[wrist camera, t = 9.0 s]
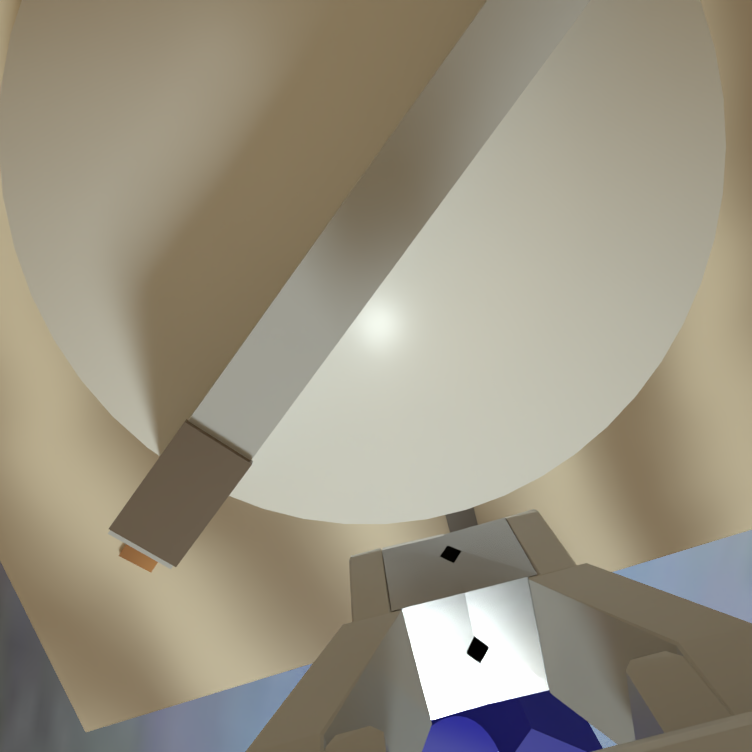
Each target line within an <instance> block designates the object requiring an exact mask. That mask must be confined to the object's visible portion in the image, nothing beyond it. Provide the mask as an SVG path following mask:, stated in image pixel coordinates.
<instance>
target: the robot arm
mask: <svg viewBox="0 0 752 752" xmlns="http://www.w3.org/2000/svg"><path fill="white" fill-rule="evenodd" d="M349 571H350V592H351V613H352V622H351V623H347V624H343V625H342V626H341V628H340V629H339V630H338V632H337V633H336V634H335V635H334V637H333V638H332V639H331V641H330V642H329V643H328V645H327V646H326V647H325V649H324V650H323V651H322V652H321V654H320V655H319V656H318V658H317V659H316V660H315V662H314V663H313V664H312V666H311V667H310V668H309V669H308V671H307V672H306V673H305V675H304V676H303V677H302V679H301V680H300V681H299V683H298V684H297V685H296V686H295V688H294V689H293V690H292V692H291V693H290V694H289V696H288V697H287V698H286V700H285V701H284V702H283V703H282V705H281V706H280V707H279V709H278V710H277V711H276V713H275V714H274V715H273V717H272V718H271V719H270V720H269V722H268V723H267V724H266V726H265V727H264V728H263V730H262V731H261V732H260V734H259V735H258V736H257V737H256V739H255V740H254V741H253V743H252V744H251V745H250V747H249V748H248V749H247V751H246V752H422V750H423V747H424V744H425V742H426V739H427V736H428V733H429V731H430V728H431V725H432V722H431V720H433V719H437V718H440V717H444V716H447V715H451V714H454V713H458V712H461V711H465V710H468V709H472V708H475V707H479V706H482V705H486V704H489V702H490V703H494V702H498V701H503V700H507V699H512V698H516V697H521V696H525V695H530V694H534V693H539V692H543V691H548V690H550V693H551V694H552V695H553V696H555V697H556V698H557V699H559V700H560V701H561V702H563V703H564V704H565V705H567V706H568V707H569V708H570V709H572V710H573V711H574V712H576V713H577V714H578V715H580V716H581V717H582V718H584V719H585V720H586V721H588V722H589V723H590V724H592V725H593V726H594V727H595V728H597V729H598V730H599V731H601V732H602V733H603V734H605V735H606V736H607V737H609V738H610V739H611V740H613V741H614V742H615V743H616V744H618V745H615V746H612V747H608V748H604V749H600V750H596V751H592V752H752V623H749V622H746V621H743V620H741V619H738V618H735V617H733V616H730V615H727V614H724V613H722V612H719V611H716V610H713V609H711V608H708V607H705V606H703V605H700V604H697V603H694V602H692V601H689V600H686V599H683V598H681V597H678V596H675V595H672V594H670V593H667V592H664V591H662V590H659V589H656V588H653V587H651V586H648V585H645V584H642V583H640V582H637V581H634V580H631V579H629V578H626V577H623V576H621V575H618V574H615V573H612V572H610V571H607V570H604V569H601V568H599V567H596V566H593V565H590V564H588V563H585V564H581V565H577V564H576V563H575V562H574V560H573V559H572V557H571V556H570V555H569V553H568V552H567V550H566V549H565V548H564V546H563V545H562V544H561V542H560V541H559V539H558V538H557V537H556V535H555V534H554V532H553V531H552V530H551V528H550V527H549V525H548V524H547V523H546V521H545V520H544V518H543V517H542V516H541V514H540V513H539V511H537V510H535V509H532V510H528V511H525V512H522V513H518V514H515V515H511V516H508V517H505V518H501V519H497V520H494V521H490V522H487V523H483V524H480V525H476V526H472V527H469V528H465V529H462V530H458V531H454V532H451V533H447V534H440V535H436V536H431V537H427V538H423V539H418V540H414V541H410V542H405V543H401V544H397V545H392V546H388V547H384V548H382V550H381V549H380V548H378V549H374V550H370V551H367V552H363V553H359V554H355V555H352V556H351V557H350V559H349Z"/></svg>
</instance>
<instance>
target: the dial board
mask: <svg viewBox="0 0 752 752" xmlns="http://www.w3.org/2000/svg"><path fill="white" fill-rule="evenodd" d="M21 1H22V0H0V92H1V84H2V79H3V73H4V67H5V62H6V56H7V51H8V45H9V40H10V34H11V31H12V28H13V25H14V22H15V19H16V16H17V13H18V10H19V7H20V4H21ZM700 1H701V4H702V7H703V11H704V14H705V17H706V21H707V24H708V27H709V31H710V34H711V37H712V41H713V44H714V47H715V52H716V57H717V63H718V69H719V75H720V81H721V86H722V92H723V98H724V118H725V137H726V153H725V169H724V184H723V196H722V201H721V206H720V212H719V217H718V223H717V228H716V234H715V239H714V242H713V246H712V249H711V252H710V256H709V259H708V262H707V265H706V269H705V272H704V275H703V279H702V282H701V284H700V287H699V289H698V291H697V294H696V296H695V298H694V301H693V303H692V305H691V307H690V310H689V312H688V314H687V317H686V319H685V321H684V324H683V325H682V327H681V329H680V331H679V332H678V334H677V336H676V337H675V339H674V341H673V343H672V344H671V346H670V348H669V350H668V351H667V353H666V355H665V357H664V358H663V360H662V362H661V363H660V364H659V366H658V367H657V368H656V370H655V371H654V373H653V374H652V375H651V377H650V378H649V379H648V381H647V382H646V383H645V385H644V386H643V387H642V389H641V390H640V391H639V393H638V394H637V395H636V397H635V398H634V399H633V400H632V401H631V402H630V403H629V404H628V405H627V406H626V407H625V408H624V410H623V411H622V412H621V413H620V414H619V415H618V416H617V417H616V418H615V419H614V420H613V421H612V422H611V423H610V424H609V426H608V427H607V428H605V429H604V430H603V431H602V432H601V433H600V434H598V435H597V436H596V437H595V438H594V439H592V440H591V441H590V442H589V443H588V444H587V445H585V446H584V447H583V448H582V449H581V450H580V451H578V452H577V453H576V454H575V455H573V456H572V457H570V458H569V459H567V460H566V461H564V462H563V463H561V464H560V465H558V466H557V467H555V468H554V469H552V470H551V471H549V472H548V473H546V474H545V475H543V476H542V477H540V478H538V479H536V480H534V481H532V482H530V483H528V484H526V485H524V486H522V487H520V488H518V489H516V490H515V491H513V492H511V493H509V494H507V495H505V496H502V497H499V498H497V499H494V500H491V501H489V502H486V503H483V504H480V505H478V506H475V507H472V508H470V509H467V510H463V511H459V512H455V513H451V514H447V515H442V516H438V517H434V518H430V519H425V520H416V521H408V522H399V523H391V524H341V523H333V522H325V521H317V520H309V519H302V518H298V517H294V516H290V515H286V514H282V513H278V512H274V511H270V510H266V509H262V508H260V507H257V506H254V505H252V504H249V503H246V502H244V501H241V500H239V499H236V498H233V497H231V496H228V498H227V499H226V500H225V502H224V503H223V504H222V506H221V507H220V509H219V510H218V511H217V513H216V514H215V515H214V517H213V518H212V519H211V521H210V522H209V523H208V525H207V526H206V527H205V529H204V530H203V532H202V533H201V534H200V536H199V537H198V538H197V540H196V541H195V542H194V544H193V545H192V546H191V548H190V549H189V550H188V552H187V553H186V555H185V556H184V557H183V559H182V560H181V561H180V563H179V564H178V565H177V567H174V566H173V567H172V568H171V569H169V568H168V567H166V566H164V565H162V564H161V563H159V562H157V561H155V560H153V559H152V558H150V557H148V556H146V555H145V554H143V553H141V552H139V551H137V550H136V549H134V548H132V547H130V546H129V545H127V544H125V543H123V542H122V541H120V540H118V539H116V538H114V537H113V536H111V535H109V534H108V533H109V531H110V530H109V527H110V526H111V524H112V523H113V522H114V520H115V519H116V517H117V516H118V515H119V513H120V512H121V510H122V509H123V508H124V506H125V505H126V503H127V502H128V501H129V499H130V498H131V496H132V495H133V494H134V492H135V491H136V489H137V488H138V486H139V485H140V484H141V482H142V481H143V479H144V478H145V477H146V475H147V474H148V472H149V471H150V470H151V468H152V467H153V465H154V464H155V463H156V461H157V460H158V458H159V457H160V456H159V455H157V454H156V453H155V452H153V451H152V450H150V449H149V448H147V447H146V446H145V445H144V444H143V443H142V442H141V441H139V440H138V439H137V438H136V437H135V436H134V435H133V434H132V433H130V432H129V431H128V430H127V429H126V428H125V427H124V426H123V425H122V424H120V423H119V422H118V421H117V420H116V419H115V418H114V417H113V416H112V415H111V414H110V413H109V412H108V411H107V410H106V408H105V407H104V406H103V405H102V404H101V403H100V401H99V400H98V399H97V398H96V397H95V396H94V395H93V393H92V392H91V391H90V390H89V389H88V388H87V387H86V385H85V384H84V383H83V382H82V381H81V379H80V378H79V376H78V375H77V374H76V372H75V371H74V369H73V368H72V366H71V365H70V363H69V362H68V360H67V359H66V357H65V356H64V354H63V353H62V351H61V350H60V348H59V347H58V345H57V344H56V342H55V341H54V339H53V337H52V335H51V333H50V331H49V329H48V327H47V325H46V323H45V321H44V319H43V317H42V316H41V314H40V312H39V310H38V308H37V306H36V304H35V302H34V300H33V298H32V296H31V293H30V290H29V287H28V285H27V282H26V279H25V276H24V273H23V271H22V268H21V265H20V262H19V260H18V257H17V254H16V251H15V248H14V244H13V240H12V235H11V231H10V226H9V222H8V217H7V213H6V208H5V204H4V199H3V191H2V180H1V169H0V561H1V563H2V565H3V567H4V569H5V571H6V573H7V575H8V577H9V579H10V581H11V583H12V585H13V587H14V589H15V591H16V593H17V595H18V597H19V599H20V601H21V603H22V605H23V607H24V609H25V611H26V613H27V615H28V617H29V619H30V621H31V623H32V625H33V627H34V629H35V631H36V633H37V635H38V637H39V639H40V641H41V643H42V645H43V648H44V650H45V652H46V654H47V656H48V658H49V660H50V662H51V664H52V666H53V668H54V670H55V672H56V674H57V676H58V678H59V680H60V682H61V684H62V686H63V688H64V690H65V692H66V694H67V696H68V698H69V700H70V702H71V704H72V706H73V708H74V710H75V712H76V714H77V716H78V718H79V720H80V722H81V724H82V726H83V728H84V730H85V732H88V731H92V730H95V729H98V728H102V727H105V726H108V725H111V724H115V723H118V722H121V721H125V720H128V719H131V718H134V717H138V716H141V715H144V714H148V713H151V712H154V711H157V710H161V709H164V708H167V707H170V706H174V705H177V704H180V703H184V702H187V701H190V700H193V699H197V698H200V697H203V696H207V695H210V694H213V693H216V692H220V691H223V690H226V689H230V688H233V687H236V686H239V685H243V684H246V683H249V682H253V681H256V680H259V679H262V678H266V677H269V676H272V675H276V674H279V673H282V672H285V671H289V670H292V669H295V668H299V667H302V666H305V665H308V664H312V663H314V662H315V660H316V659H317V658H318V656H319V655H320V654H321V652H322V651H323V650H324V649H325V647H326V646H327V645H328V643H329V642H330V641H331V639H332V638H333V637H334V635H335V634H336V633H337V632H338V630H339V629H340V628H341V626H342V625H343V624H347V623H351V622H352V613H351V592H350V571H349V559H350V557H351V556H352V555H355V554H359V553H363V552H367V551H370V550H374V549H378V548H380V549H381V550H382V548H384V547H388V546H392V545H397V544H401V543H405V542H410V541H414V540H418V539H423V538H427V537H431V536H436V535H440V534H447V533H451V532H454V531H458V530H462V529H465V528H469V527H472V526H476V525H480V524H483V523H487V522H490V521H494V520H497V519H501V518H505V517H508V516H511V515H515V514H518V513H522V512H525V511H528V510H532V509H535V510H537V511H539V513H540V514H541V516H542V517H543V518H544V520H545V521H546V523H547V524H548V525H549V527H550V528H551V530H552V531H553V532H554V534H555V535H556V537H557V538H558V539H559V541H560V542H561V544H562V545H563V546H564V548H565V549H566V550H567V552H568V553H569V555H570V556H571V557H572V559H573V560H574V562H575V563H576V564H577V565H581V564H585V563H588V564H590V565H593V566H596V567H599V568H601V569H604V570H607V571H610V572H614V571H617V570H620V569H624V568H627V567H630V566H633V565H637V564H640V563H643V562H646V561H650V560H653V559H656V558H660V557H663V556H666V555H669V554H673V553H676V552H679V551H683V550H686V549H689V548H692V547H696V546H699V545H702V544H706V543H709V542H712V541H715V540H719V539H722V538H725V537H729V536H732V535H735V534H738V533H742V532H745V531H748V530H752V0H700Z"/></svg>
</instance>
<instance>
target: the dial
mask: <svg viewBox="0 0 752 752" xmlns="http://www.w3.org/2000/svg"><path fill="white" fill-rule="evenodd" d="M725 153H726V137H725V118H724V98H723V92H722V86H721V81H720V75H719V69H718V63H717V57H716V52H715V47H714V44H713V41H712V37H711V34H710V31H709V27H708V24H707V21H706V17H705V14H704V11H703V7H702V4H701V1H700V0H22V1H21V4H20V7H19V10H18V13H17V16H16V19H15V22H14V25H13V28H12V31H11V34H10V40H9V45H8V51H7V56H6V62H5V67H4V73H3V79H2V84H1V92H0V169H1V180H2V191H3V199H4V204H5V208H6V213H7V217H8V222H9V226H10V231H11V235H12V240H13V244H14V248H15V251H16V254H17V257H18V260H19V262H20V265H21V268H22V271H23V273H24V276H25V279H26V282H27V285H28V287H29V290H30V293H31V296H32V298H33V300H34V302H35V304H36V306H37V308H38V310H39V312H40V314H41V316H42V317H43V319H44V321H45V323H46V325H47V327H48V329H49V331H50V333H51V335H52V337H53V339H54V341H55V342H56V344H57V345H58V347H59V348H60V350H61V351H62V353H63V354H64V356H65V357H66V359H67V360H68V362H69V363H70V365H71V366H72V368H73V369H74V371H75V372H76V374H77V375H78V376H79V378H80V379H81V381H82V382H83V383H84V384H85V385H86V387H87V388H88V389H89V390H90V391H91V392H92V393H93V395H94V396H95V397H96V398H97V399H98V400H99V401H100V403H101V404H102V405H103V406H104V407H105V408H106V410H107V411H108V412H109V413H110V414H111V415H112V416H113V417H114V418H115V419H116V420H117V421H118V422H119V423H120V424H122V425H123V426H124V427H125V428H126V429H127V430H128V431H129V432H130V433H132V434H133V435H134V436H135V437H136V438H137V439H138V440H139V441H141V442H142V443H143V444H144V445H145V446H146V447H147V448H149V449H150V450H152V451H153V452H155V453H156V454H157V455H159V456H160V457H159V458H158V460H157V461H156V463H155V464H154V465H153V467H152V468H151V470H150V471H149V472H148V474H147V475H146V477H145V478H144V479H143V481H142V482H141V484H140V485H139V486H138V488H137V489H136V491H135V492H134V494H133V495H132V496H131V498H130V499H129V501H128V502H127V503H126V505H125V506H124V508H123V509H122V510H121V512H120V513H119V515H118V516H117V517H116V519H115V520H114V522H113V523H112V524H111V526H110V527H109V530H110V531H109V533H108V534H109V535H111V536H113V537H114V538H116V539H118V540H120V541H122V542H123V543H125V544H127V545H129V546H130V547H132V548H134V549H136V550H137V551H139V552H141V553H143V554H145V555H146V556H148V557H150V558H152V559H153V560H155V561H157V562H159V563H161V564H162V565H164V566H166V567H168V568H169V569H171V568H172V567H173V566H174V567H177V565H178V564H179V563H180V561H181V560H182V559H183V557H184V556H185V555H186V553H187V552H188V550H189V549H190V548H191V546H192V545H193V544H194V542H195V541H196V540H197V538H198V537H199V536H200V534H201V533H202V532H203V530H204V529H205V527H206V526H207V525H208V523H209V522H210V521H211V519H212V518H213V517H214V515H215V514H216V513H217V511H218V510H219V509H220V507H221V506H222V504H223V503H224V502H225V500H226V499H227V498H228V496H231V497H233V498H236V499H239V500H241V501H244V502H246V503H249V504H252V505H254V506H257V507H260V508H262V509H266V510H270V511H274V512H278V513H282V514H286V515H290V516H294V517H298V518H302V519H309V520H317V521H325V522H333V523H341V524H391V523H399V522H408V521H416V520H425V519H430V518H434V517H438V516H442V515H447V514H451V513H455V512H459V511H463V510H467V509H470V508H472V507H475V506H478V505H480V504H483V503H486V502H489V501H491V500H494V499H497V498H499V497H502V496H505V495H507V494H509V493H511V492H513V491H515V490H516V489H518V488H520V487H522V486H524V485H526V484H528V483H530V482H532V481H534V480H536V479H538V478H540V477H542V476H543V475H545V474H546V473H548V472H549V471H551V470H552V469H554V468H555V467H557V466H558V465H560V464H561V463H563V462H564V461H566V460H567V459H569V458H570V457H572V456H573V455H575V454H576V453H577V452H578V451H580V450H581V449H582V448H583V447H584V446H585V445H587V444H588V443H589V442H590V441H591V440H592V439H594V438H595V437H596V436H597V435H598V434H600V433H601V432H602V431H603V430H604V429H605V428H607V427H608V426H609V424H610V423H611V422H612V421H613V420H614V419H615V418H616V417H617V416H618V415H619V414H620V413H621V412H622V411H623V410H624V408H625V407H626V406H627V405H628V404H629V403H630V402H631V401H632V400H633V399H634V398H635V397H636V395H637V394H638V393H639V391H640V390H641V389H642V387H643V386H644V385H645V383H646V382H647V381H648V379H649V378H650V377H651V375H652V374H653V373H654V371H655V370H656V368H657V367H658V366H659V364H660V363H661V362H662V360H663V358H664V357H665V355H666V353H667V351H668V350H669V348H670V346H671V344H672V343H673V341H674V339H675V337H676V336H677V334H678V332H679V331H680V329H681V327H682V325H683V324H684V321H685V319H686V317H687V314H688V312H689V310H690V307H691V305H692V303H693V301H694V298H695V296H696V294H697V291H698V289H699V287H700V284H701V282H702V279H703V275H704V272H705V269H706V265H707V262H708V259H709V256H710V252H711V249H712V246H713V242H714V239H715V234H716V228H717V223H718V217H719V212H720V206H721V201H722V196H723V184H724V169H725Z"/></svg>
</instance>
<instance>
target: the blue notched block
mask: <svg viewBox="0 0 752 752" xmlns="http://www.w3.org/2000/svg"><path fill="white" fill-rule="evenodd" d="M431 722H432V725H431V728H430V731H429V733H428V736H427V739H426V742H425V744H424V747H423V750H422V752H498V751H499V752H592V751H596V750H600V749H603V748H602V746H601V744H600V743H599V741H598V739H597V737H596V735H595V734H594V732H593V730H592V728H591V727H590V725H589V723H588V721H586V720H585V719H584V718H582V717H581V716H580V715H578V714H577V713H576V712H574V711H573V710H572V709H570V708H569V707H568V706H567V705H565V704H564V703H563V702H561V701H560V700H559V699H557V698H556V697H555V696H553V695H552V694H551V693H550V690H548V691H543V692H539V693H534V694H530V695H525V696H521V697H516V698H512V699H507V700H503V701H498V702H494V703H490V702H489V704H486V705H482V706H479V707H475V708H472V709H468V710H465V711H461V712H458V713H454V714H451V715H447V716H444V717H440V718H437V719H433V720H431Z"/></svg>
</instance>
